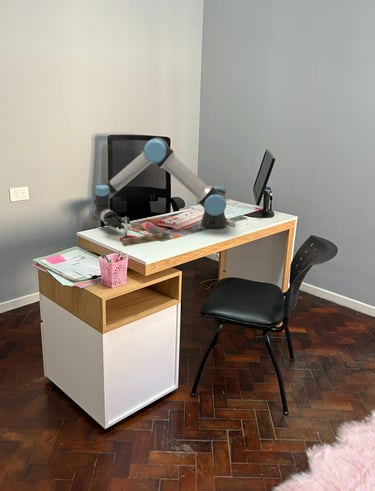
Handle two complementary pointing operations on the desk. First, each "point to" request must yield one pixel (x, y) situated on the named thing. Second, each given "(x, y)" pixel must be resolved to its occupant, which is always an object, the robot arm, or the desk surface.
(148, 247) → the desk surface
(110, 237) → the desk surface
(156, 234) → the guide track
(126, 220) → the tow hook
